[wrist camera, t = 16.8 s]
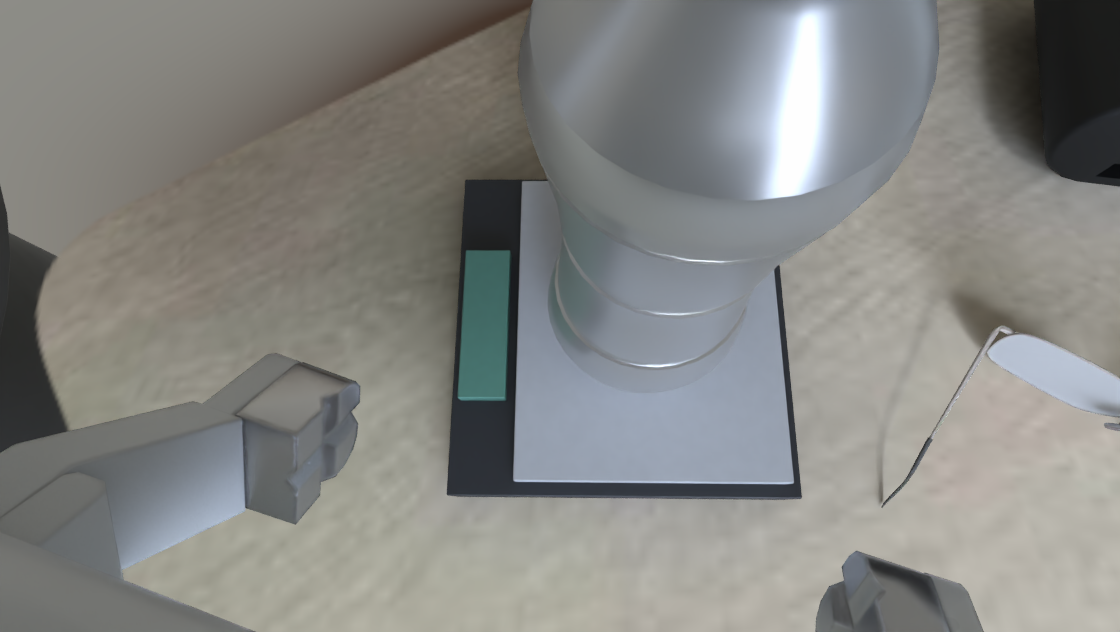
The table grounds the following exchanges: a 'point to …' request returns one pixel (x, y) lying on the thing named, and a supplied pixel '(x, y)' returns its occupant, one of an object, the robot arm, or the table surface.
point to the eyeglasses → (1044, 377)
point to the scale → (599, 385)
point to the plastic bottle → (706, 157)
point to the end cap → (1080, 87)
